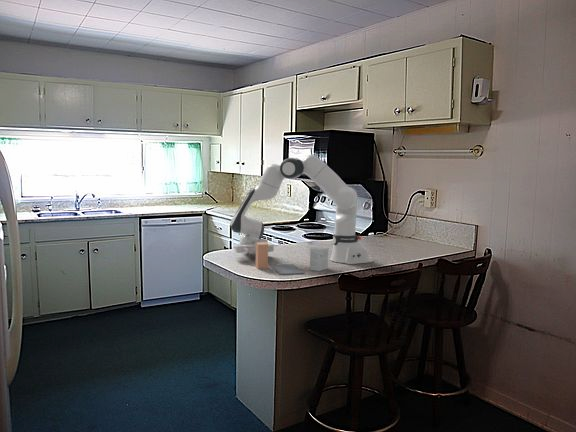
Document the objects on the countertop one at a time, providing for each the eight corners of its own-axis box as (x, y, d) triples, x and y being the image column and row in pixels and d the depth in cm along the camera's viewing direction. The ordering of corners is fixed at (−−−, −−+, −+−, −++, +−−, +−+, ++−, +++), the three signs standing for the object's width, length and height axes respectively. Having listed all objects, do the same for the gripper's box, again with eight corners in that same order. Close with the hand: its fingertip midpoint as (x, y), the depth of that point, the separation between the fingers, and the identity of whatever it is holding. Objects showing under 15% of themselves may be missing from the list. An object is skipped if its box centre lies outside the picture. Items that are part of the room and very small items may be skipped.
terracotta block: (265, 266, 242) (265, 242, 241) (267, 268, 238) (268, 244, 236) (255, 266, 241) (255, 242, 239) (257, 268, 236) (258, 244, 235)
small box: (318, 266, 244) (319, 246, 243) (328, 268, 241) (328, 247, 240) (309, 269, 238) (310, 248, 237) (318, 271, 235) (319, 250, 233)
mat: (293, 265, 246) (293, 264, 246) (304, 273, 229) (304, 272, 229) (270, 266, 243) (270, 264, 243) (280, 275, 226) (280, 273, 226)
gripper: (232, 240, 257) (237, 245, 244) (270, 239, 263) (276, 244, 250) (232, 252, 258) (237, 257, 245) (269, 250, 264) (276, 256, 251)
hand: (257, 250), depth 247 cm, fingers open, 8 cm apart
